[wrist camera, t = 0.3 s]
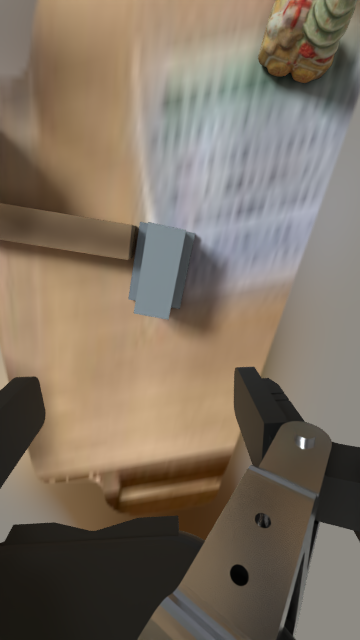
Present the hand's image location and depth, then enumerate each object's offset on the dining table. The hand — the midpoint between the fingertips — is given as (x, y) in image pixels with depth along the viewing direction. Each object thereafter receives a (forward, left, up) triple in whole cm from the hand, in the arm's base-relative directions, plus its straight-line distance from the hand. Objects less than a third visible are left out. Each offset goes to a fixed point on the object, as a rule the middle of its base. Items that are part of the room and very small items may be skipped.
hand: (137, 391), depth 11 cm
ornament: (-28, +10, -28) cm, 41 cm away
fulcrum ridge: (-2, 0, -28) cm, 28 cm away
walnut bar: (-4, -14, -28) cm, 32 cm away
